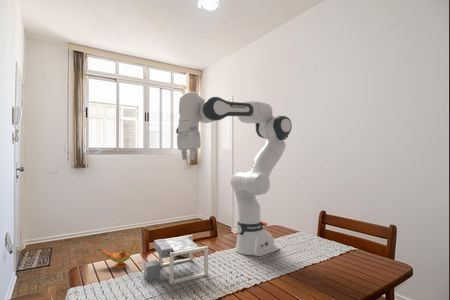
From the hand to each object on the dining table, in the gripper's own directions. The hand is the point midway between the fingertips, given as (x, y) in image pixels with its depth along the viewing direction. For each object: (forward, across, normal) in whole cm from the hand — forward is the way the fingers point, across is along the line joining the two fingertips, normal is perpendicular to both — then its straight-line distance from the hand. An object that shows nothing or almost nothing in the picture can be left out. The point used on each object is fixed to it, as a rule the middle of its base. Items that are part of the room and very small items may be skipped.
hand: (188, 159), depth 112 cm
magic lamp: (+46, +12, +27) cm, 55 cm away
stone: (+46, -5, +16) cm, 48 cm away
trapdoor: (+36, -6, +7) cm, 37 cm away
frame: (+45, -6, +4) cm, 46 cm away
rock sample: (+46, +10, -2) cm, 47 cm away
